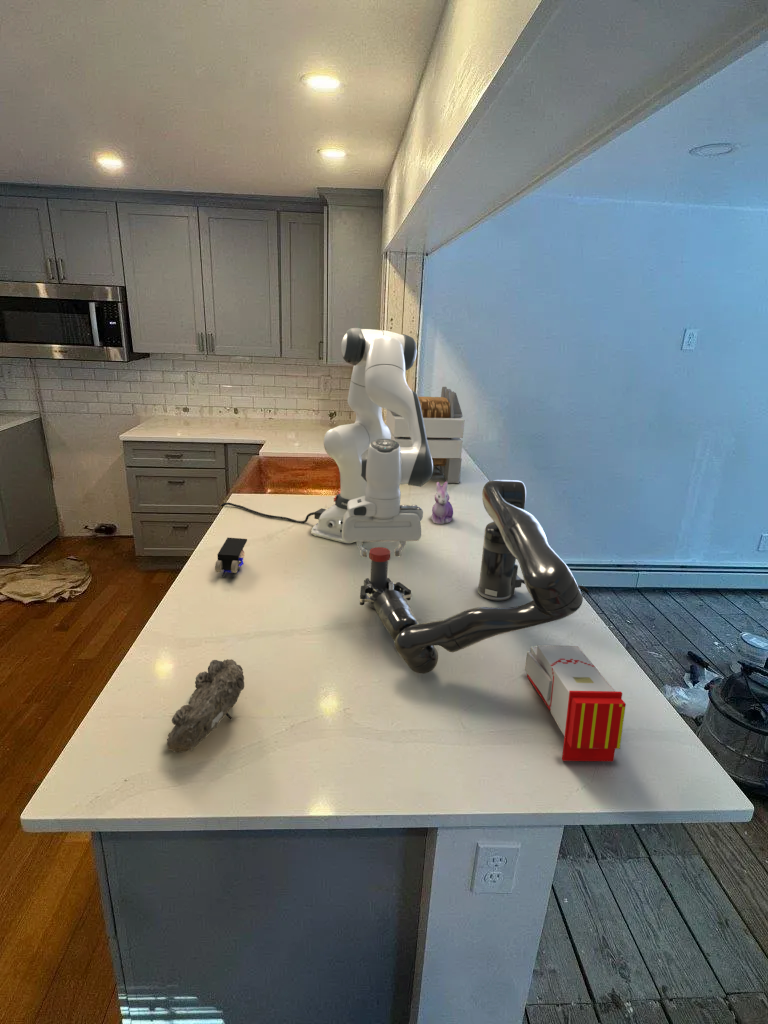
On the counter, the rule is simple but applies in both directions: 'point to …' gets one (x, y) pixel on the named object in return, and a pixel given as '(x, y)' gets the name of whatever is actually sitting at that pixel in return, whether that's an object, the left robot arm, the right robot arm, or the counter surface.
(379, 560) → the lid
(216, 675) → the fossil
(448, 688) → the counter surface
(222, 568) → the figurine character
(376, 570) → the jar
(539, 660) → the toy
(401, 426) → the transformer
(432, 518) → the figurine
